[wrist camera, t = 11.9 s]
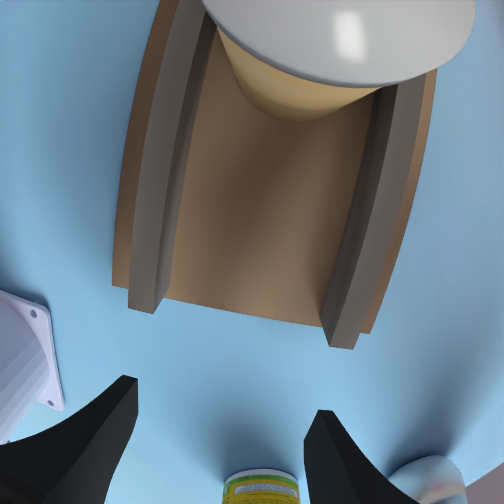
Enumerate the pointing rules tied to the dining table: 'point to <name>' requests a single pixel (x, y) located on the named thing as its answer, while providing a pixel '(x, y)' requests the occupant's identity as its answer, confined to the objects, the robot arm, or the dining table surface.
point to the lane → (261, 190)
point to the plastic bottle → (431, 481)
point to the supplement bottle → (261, 488)
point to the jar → (334, 48)
